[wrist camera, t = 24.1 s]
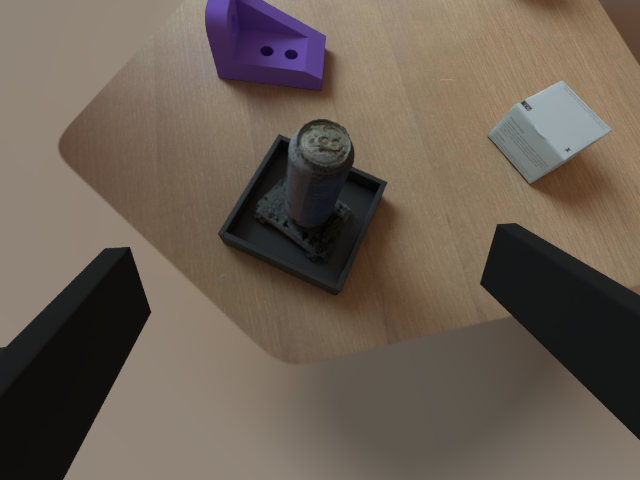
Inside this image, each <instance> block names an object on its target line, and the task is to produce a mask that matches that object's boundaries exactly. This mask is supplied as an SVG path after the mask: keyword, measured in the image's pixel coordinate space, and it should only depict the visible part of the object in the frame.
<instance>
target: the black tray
mask: <svg viewBox="0 0 640 480" xmlns="http://www.w3.org/2000/svg"><path fill="white" fill-rule="evenodd" d="M290 140H291V139H289V138H287V137H284V136H282V135H280V134H279V135H278V136H277V138H276V140H275V141H274V143H273V145H272V146H271V148H270V149H269V151H268V153H267V154H266V156H265V158H264V159H263V161H262V163H261V164H260V166H259V167H258V169H257V171H256V172H255V174H254V176H253V177H252V179H251V180H250V182H249V184H248V185H247V187H246V189H245V190H244V192H243V194H242V195H241V197H240V198H239V200H238V202H237V203H236V205H235V207H234V208H233V210H232V212H231V213H230V215H229V216H228V218H227V220H226V221H225V223H224V225H223V226H222V228H221V230H220V231H219V233H218V235H219V236H220V238H221V239H222V241H223V242H224V243H225V244H227V245H229V246H232V247H234V248H236V249H238V250H240V251H242V252H244V253H246V254H249V255H251V256H253V257H255V258H257V259H259V260H261V261H263V262H266V263H268V264H270V265H272V266H274V267H276V268H278V269H280V270H283V271H285V272H287V273H289V274H291V275H293V276H295V277H297V278H300V279H302V280H304V281H306V282H308V283H310V284H312V285H314V286H317V287H319V288H321V289H323V290H325V291H327V292H329V293H331V294H334V295H337V294H338V293H339V292H340V291H341V289H342V287H343V284H344V282H345V280H346V277H347V275H348V273H349V270H350V268H351V266H352V263H353V261H354V259H355V256H356V254H357V252H358V249H359V247H360V245H361V242H362V240H363V238H364V235H365V233H366V231H367V228H368V226H369V224H370V221H371V219H372V217H373V215H374V212H375V210H376V208H377V205H378V203H379V201H380V198H381V196H382V194H383V191H384V189H385V187H386V184H387V182H385V181H382V180H381V179H379V178H376V177H374V176H372V175H370V174H367V173H365V172H363V171H361V170H358V169H356V168H354V167H351V169H350V172H349V174H348V176H347V179H346V181H345V183H344V186H343V188H342V190H341V192H340V194H339V197H338V200H339V201H341V202H342V203H343V204H346V205H347V206H348V207H349V208H350V209H352V210H349V211H350V215H349V217H348V220H347V221H346V222H345V223H346V225H344V226H343V228H341V229H342V230H343V231H341V232H340V233H341V234H340V238H339V239H338V238H337V239H336V238H334V239H335V240H333V238H332V237H330V239H329V241H332V243H333V244H334V243H335V246H336V247H334V248H335V249H334V251H332V252H333V254H332V255H331V258H330V259H331V260H329V259H328V262H326V261H325V260H324V259H323V257H321V256H317V258H316V259H318V258H319V259H318V260H317V261H313V260H311V259H310V258H308V257H307V256H305V255H304V253H305V251H306V250H305V249H303V248H302V247H301V246H299V244H297V243H295V242H294V241H293V240H291V239H290V238H288V237H287V236H285V234H284V233H282V232H281V231H280V230H278V229H276V228H275V227H274V226H273V225H270V224H268V223H267V224H263V223H262V222H260V221H258V220H257V219H255V217H254V216H252V211H256V212H257V209H258V208H257V207H259V204H258V202H259V201H260V200H261V199H262V198H264V199H265V200H266V199H268V198H267V197H266V196H265V195H266V194H267V193H268V192H270V191H271V189H272V188H274V186H275V185H276V184H277V183H279V181H280V180H281V181H280V182H281V183H282V181H284V180H285V179H286V178H285V177H287V164H288V149H289V144H290ZM279 185H280V184H279ZM275 188H276V187H275ZM264 196H265V197H264ZM256 204H257V205H256ZM251 209H252V211H251ZM337 234H338V233H337ZM335 236H336V235H335ZM333 237H334V236H333ZM336 237H337V236H336ZM336 240H337V241H336ZM322 260H323V261H322ZM320 261H321V262H322V263H321V262H320Z"/></svg>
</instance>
